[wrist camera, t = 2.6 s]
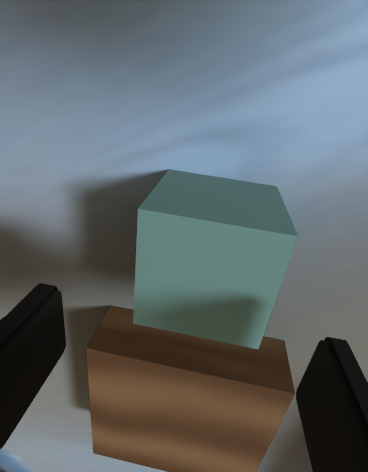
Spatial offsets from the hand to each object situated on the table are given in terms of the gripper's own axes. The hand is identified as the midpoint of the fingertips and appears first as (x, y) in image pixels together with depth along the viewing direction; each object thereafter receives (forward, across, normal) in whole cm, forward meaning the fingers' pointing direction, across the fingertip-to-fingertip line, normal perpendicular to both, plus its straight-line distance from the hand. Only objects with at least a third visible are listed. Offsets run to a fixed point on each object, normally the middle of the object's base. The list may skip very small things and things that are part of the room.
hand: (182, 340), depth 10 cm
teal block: (+8, -1, -1) cm, 8 cm away
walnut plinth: (+9, -1, +14) cm, 16 cm away
